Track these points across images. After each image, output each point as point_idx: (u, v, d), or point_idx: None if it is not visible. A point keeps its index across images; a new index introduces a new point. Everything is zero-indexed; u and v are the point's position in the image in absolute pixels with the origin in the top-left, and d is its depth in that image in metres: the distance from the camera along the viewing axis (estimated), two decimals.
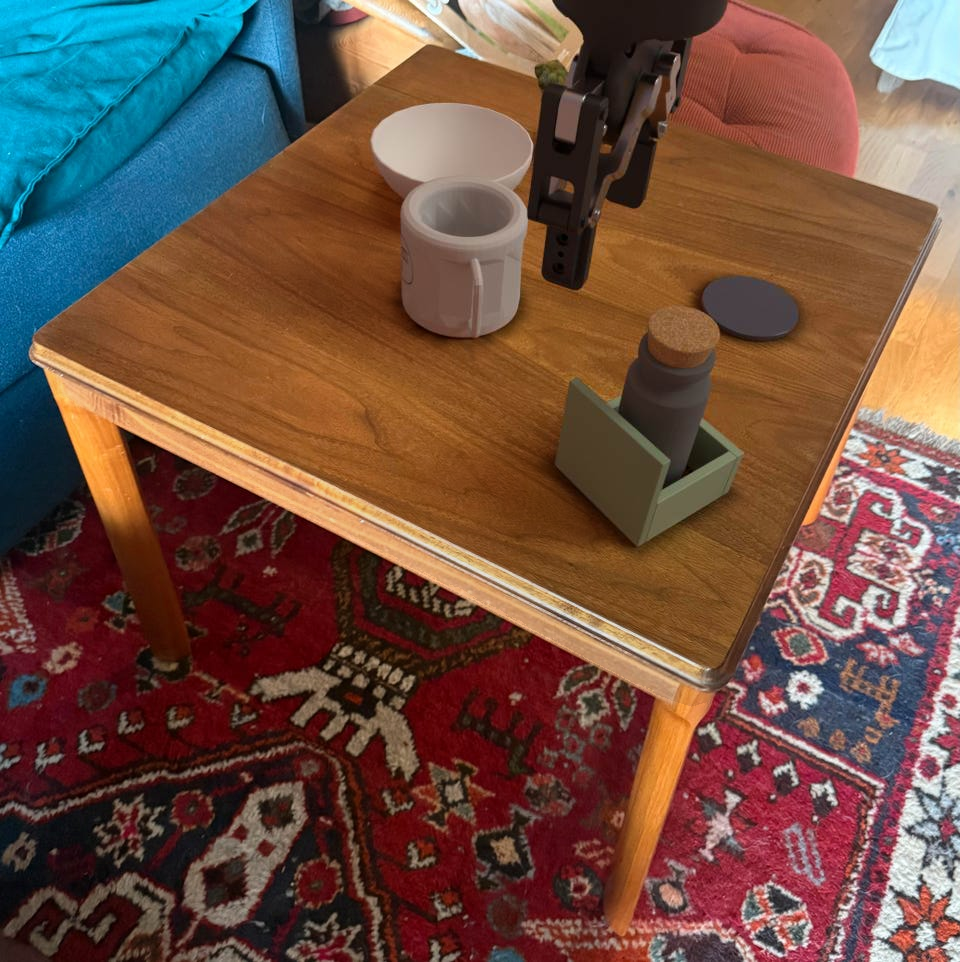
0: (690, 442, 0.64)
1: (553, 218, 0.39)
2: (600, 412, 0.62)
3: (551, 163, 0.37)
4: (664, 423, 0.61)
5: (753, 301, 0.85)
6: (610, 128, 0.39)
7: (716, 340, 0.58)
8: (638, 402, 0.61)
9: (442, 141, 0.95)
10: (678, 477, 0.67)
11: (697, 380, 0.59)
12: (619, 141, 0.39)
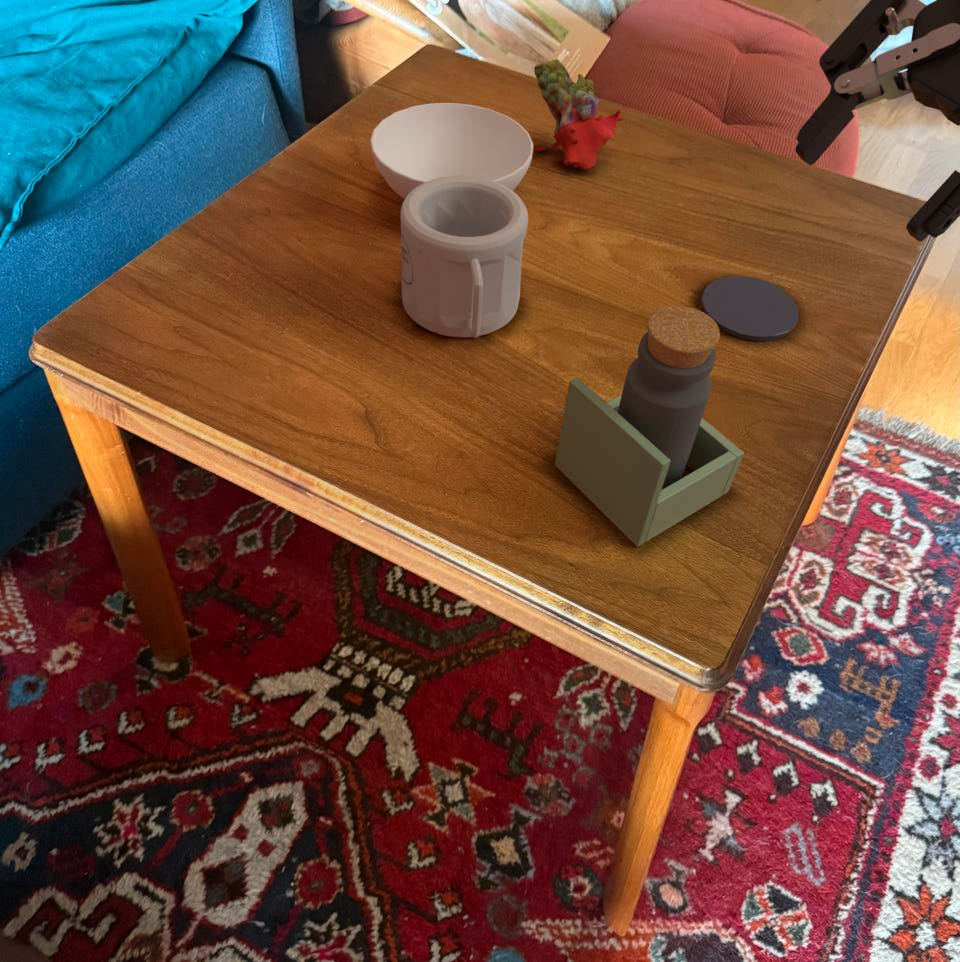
0: (690, 442, 0.64)
1: None
2: (600, 412, 0.62)
3: None
4: (664, 423, 0.61)
5: (753, 301, 0.85)
6: None
7: (716, 340, 0.58)
8: (638, 402, 0.61)
9: (442, 141, 0.95)
10: (678, 477, 0.67)
11: (697, 380, 0.59)
12: None
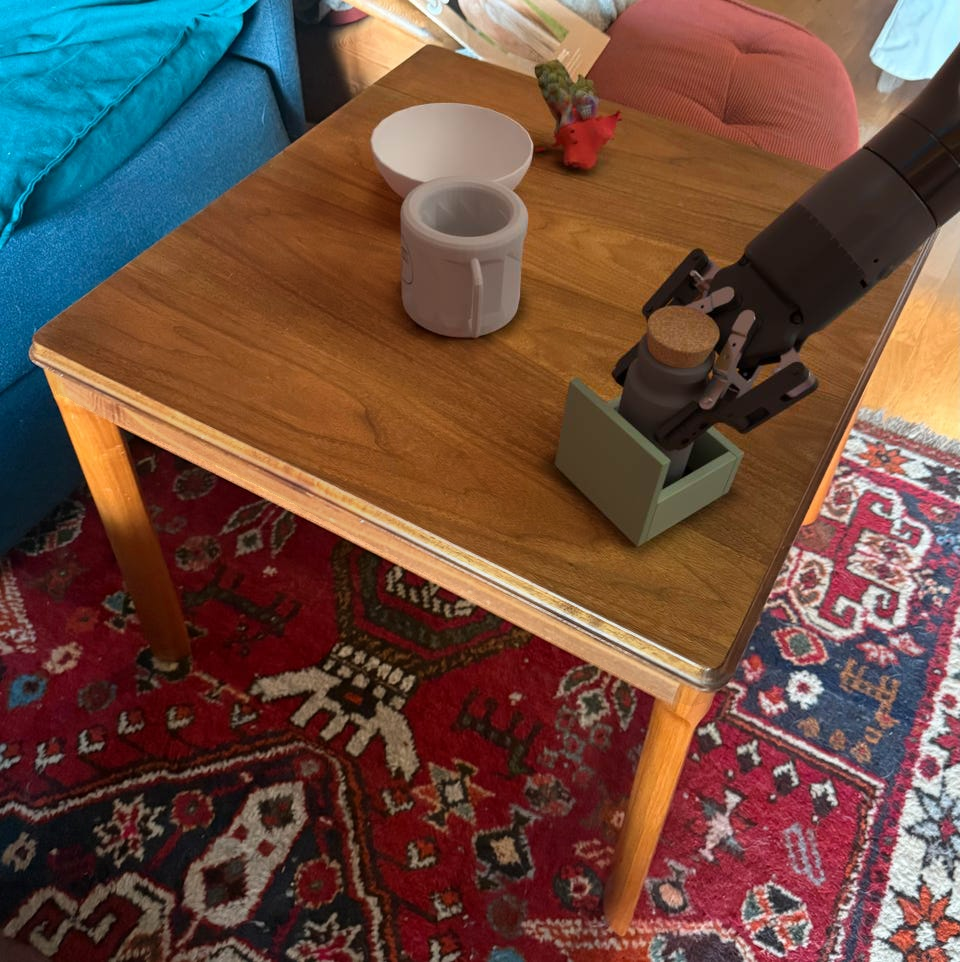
0: None
1: None
2: (600, 412, 0.62)
3: None
4: (663, 423, 0.61)
5: None
6: None
7: (716, 340, 0.58)
8: (638, 402, 0.61)
9: (442, 141, 0.95)
10: (678, 477, 0.67)
11: (697, 380, 0.59)
12: None
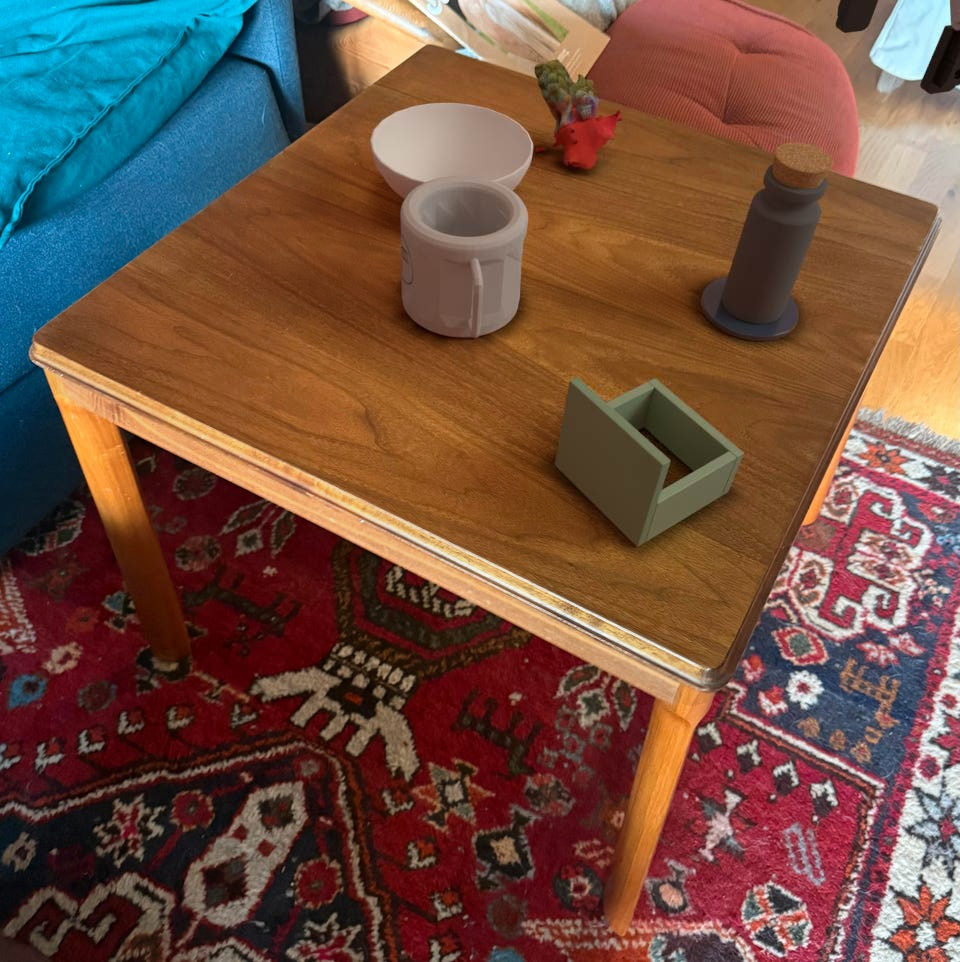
0: (801, 261, 0.78)
1: None
2: (600, 412, 0.62)
3: None
4: (783, 239, 0.76)
5: None
6: None
7: (831, 165, 0.72)
8: (763, 223, 0.76)
9: (442, 141, 0.95)
10: (787, 297, 0.81)
11: (814, 200, 0.73)
12: None
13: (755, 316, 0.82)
